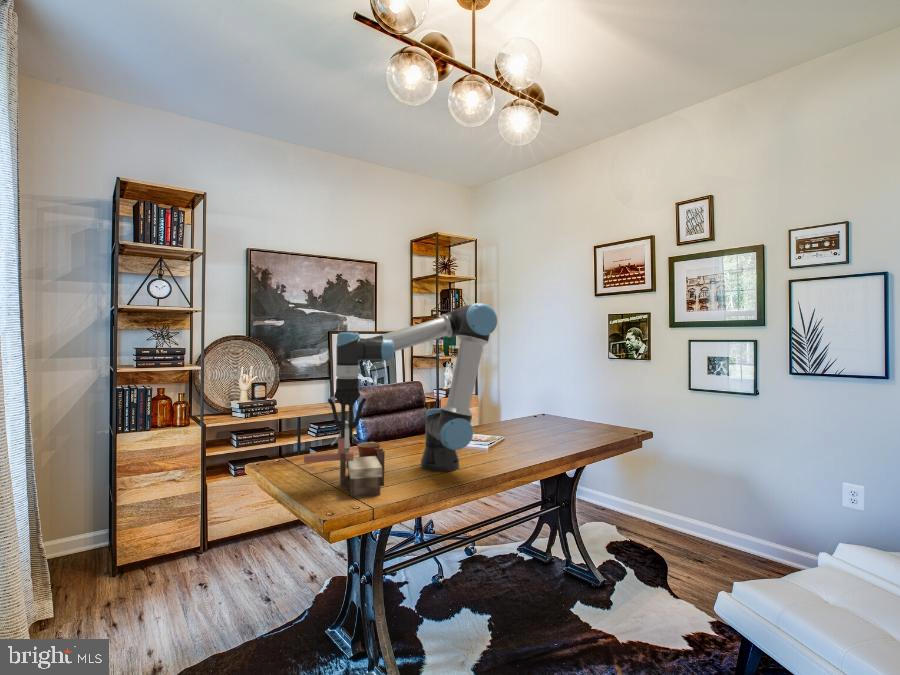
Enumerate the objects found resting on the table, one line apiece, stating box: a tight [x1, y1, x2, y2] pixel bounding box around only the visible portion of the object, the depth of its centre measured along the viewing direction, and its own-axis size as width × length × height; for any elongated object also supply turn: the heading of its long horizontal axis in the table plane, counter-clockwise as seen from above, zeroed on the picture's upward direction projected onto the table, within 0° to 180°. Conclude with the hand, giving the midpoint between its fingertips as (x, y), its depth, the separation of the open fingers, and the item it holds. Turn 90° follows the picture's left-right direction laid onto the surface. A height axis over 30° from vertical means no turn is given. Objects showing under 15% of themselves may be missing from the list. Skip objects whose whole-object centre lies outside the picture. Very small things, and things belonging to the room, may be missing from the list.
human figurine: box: [330, 420, 359, 468], centre depth 182 cm, size 12×4×18 cm, turn 133°
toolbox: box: [339, 448, 386, 498], centre depth 156 cm, size 14×14×12 cm
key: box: [303, 437, 355, 464], centre depth 157 cm, size 16×2×7 cm, turn 107°
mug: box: [356, 441, 381, 459], centre depth 175 cm, size 12×9×10 cm
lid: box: [346, 456, 382, 479], centre depth 156 cm, size 10×15×3 cm, turn 17°
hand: (346, 447), depth 158 cm, fingers closed
